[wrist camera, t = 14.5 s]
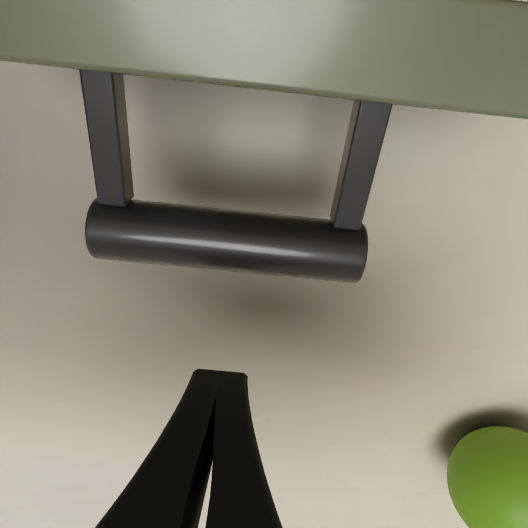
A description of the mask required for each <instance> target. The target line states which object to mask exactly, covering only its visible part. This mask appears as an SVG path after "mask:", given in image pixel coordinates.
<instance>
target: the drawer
mask: <svg viewBox="0 0 528 528" xmlns="http://www.w3.org/2000/svg"><path fill="white" fill-rule="evenodd" d="M0 60H2V61H11V62H20V63H29V64H38V65H47V66H56V67H65V68H74V69H79V71H80V78H81V85H82V92H83V99H84V106H85V113H86V120H87V127H88V134H89V141H90V149H91V156H92V163H93V170H94V177H95V184H96V191H97V198H96V199H94V201H93V202H92V203H91V205H90V208H89V210H88V213H87V218H86V225H85V238H86V245H87V248H88V251H89V253H90V254H91V256H93V257H94V258H98V259H108V260H119V261H129V262H139V263H150V264H160V265H171V266H181V267H191V268H202V269H212V270H223V271H233V272H243V273H254V274H264V275H275V276H285V277H295V278H306V279H316V280H327V281H337V282H347V283H357V282H358V281H359V280H360V279H361V277H362V275H363V272H364V269H365V265H366V260H367V253H368V235H367V230H366V227H365V225H364V224H362V220H363V216H364V212H365V208H366V204H367V201H368V197H369V193H370V189H371V185H372V181H373V178H374V174H375V170H376V166H377V162H378V158H379V155H380V151H381V147H382V143H383V139H384V135H385V132H386V128H387V124H388V120H389V116H390V112H391V109H392V105H393V104H396V105H405V106H414V107H423V108H432V109H441V110H450V111H459V112H468V113H477V114H486V115H495V116H504V117H513V118H522V119H528V2H522V1H514V0H0ZM123 74H127V75H136V76H145V77H154V78H163V79H172V80H181V81H190V82H199V83H208V84H217V85H226V86H235V87H244V88H253V89H262V90H271V91H280V92H289V93H298V94H307V95H316V96H325V97H334V98H343V99H352V100H354V104H353V109H352V113H351V118H350V123H349V128H348V132H347V137H346V142H345V147H344V151H343V156H342V161H341V166H340V171H339V175H338V180H337V185H336V190H335V194H334V199H333V204H332V209H331V213H330V218H331V220H329V219H319V218H309V217H299V216H289V215H279V214H269V213H259V212H250V211H240V210H230V209H220V208H210V207H200V206H190V205H180V204H171V203H161V202H151V201H141V200H131V199H132V198H133V196H134V193H133V182H132V170H131V159H130V147H129V136H128V125H127V113H126V102H125V90H124V79H123Z"/></svg>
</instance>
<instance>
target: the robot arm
mask: <svg viewBox="0 0 528 528" xmlns="http://www.w3.org/2000/svg"><path fill="white" fill-rule="evenodd" d="M247 380H248V376H247V375H245V374H244V373H239V372H227V371H216V370H205V369H197V370H195V371H194V372H193V374H192V377H191V379H190V382H189V384H188V386H187V388H186V390H185V392H184V394H183V396H182V398H181V400H180V402H179V404H178V406H177V408H176V410H175V411H174V413H173V415H172V417H171V418H170V420H169V422H168V423H167V425H166V427H165V428H164V430H163V432H162V433H161V435H160V437H159V438H158V440H157V442H156V443H155V445H154V446H153V448H152V450H151V451H150V453H149V454H148V455H147V457H146V458H145V460H144V461H143V463H142V464H141V466H140V467H139V469H138V470H137V472H136V473H135V475H134V476H133V478H132V479H131V481H130V482H129V483H128V485H127V486H126V488H125V489H124V490H123V492H122V493H121V494H120V496H119V497H118V498H117V500H116V501H115V502H114V504H113V505H112V506H111V508H110V509H109V510H108V512H107V513H106V514H105V515H104V517H103V518H102V519H101V521H100V522H99V523H98V524H97V526H96V527H95V528H198V524H199V519H200V515H201V510H202V506H203V501H204V497H205V493H206V488H207V484H208V479H209V474H210V470H211V465H212V461H213V466H212V482H211V492H210V501H209V508H208V515H207V521H206V528H282V525H281V522H280V520H279V517H278V514H277V511H276V508H275V505H274V502H273V499H272V496H271V492H270V489H269V486H268V483H267V479H266V476H265V473H264V469H263V465H262V462H261V458H260V454H259V450H258V446H257V441H256V437H255V433H254V428H253V423H252V418H251V412H250V406H249V398H248V384H247Z"/></svg>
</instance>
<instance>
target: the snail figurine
mask: <svg viewBox="0 0 528 528" xmlns="http://www.w3.org/2000/svg"><path fill="white" fill-rule="evenodd" d="M447 482H448V488H449V492H450V496H451V499H452V501H453V503H454V506H455V508H456V510H457V511H458V513H459V515H460V516H461V518H462V519H463V521H464V522H465V523H466V525H467V526H468V527H469V528H528V433H526V432H524V431H521V430H518V429H514V428H510V427H503V426H491V427H484V428H480V429H477V430H475V431H473V432H471V433H469V434H467V435H466V436H465V437H463V438H462V439H461V440H460V441H459V442H458V443H457V445H456V446H455V448H454V449H453V451H452V453H451V455H450V458H449V462H448V468H447Z"/></svg>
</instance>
